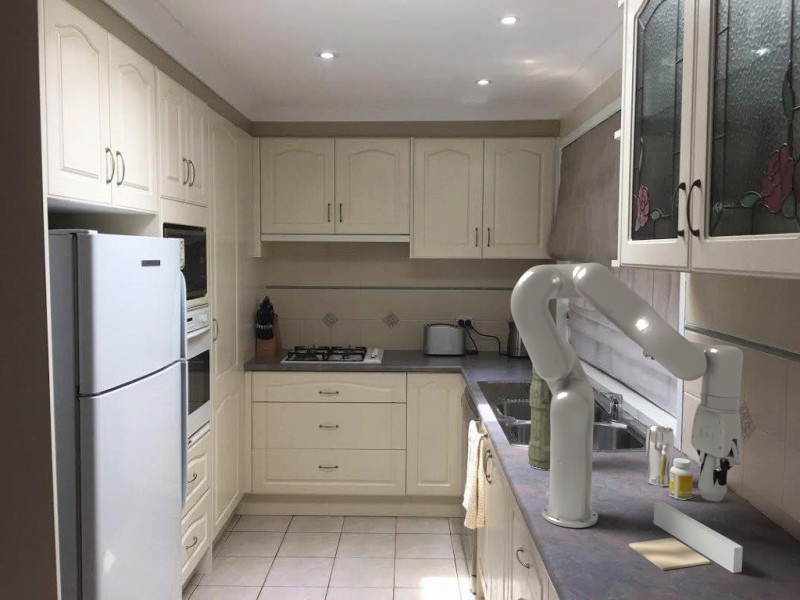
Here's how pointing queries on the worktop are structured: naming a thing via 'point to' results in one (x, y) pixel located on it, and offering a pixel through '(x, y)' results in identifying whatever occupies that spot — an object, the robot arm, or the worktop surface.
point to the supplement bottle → (681, 479)
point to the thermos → (540, 422)
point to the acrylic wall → (699, 537)
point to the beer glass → (659, 454)
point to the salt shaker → (710, 481)
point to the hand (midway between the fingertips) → (712, 483)
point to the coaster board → (669, 553)
